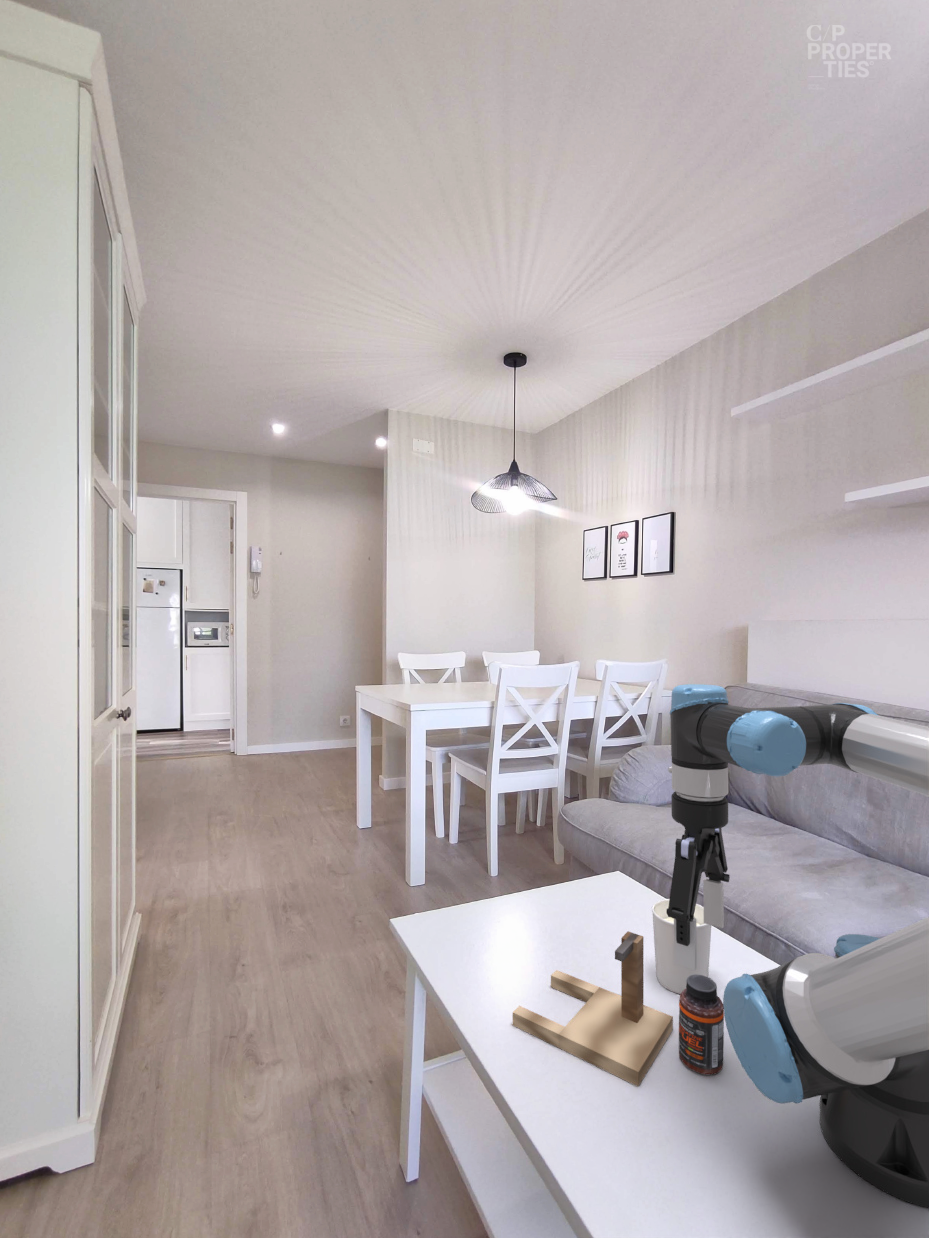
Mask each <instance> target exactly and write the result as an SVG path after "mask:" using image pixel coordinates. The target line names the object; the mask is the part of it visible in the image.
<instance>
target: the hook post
mask: <svg viewBox="0 0 929 1238" xmlns="http://www.w3.org/2000/svg"><path fill="white" fill-rule="evenodd" d="M620 940H621V941H620V942H621V944H620V945H619V946H617V948H616V949H615V950H614V959H615V961H619V962H620V963H621V967H620V968H621V976H620V980H621V982H620V983H621V989H620V990H621V991H620V994H621V995H620V996H621V1017H624V1018H626V1019H628V1020H631V1021H633V1022H635V1023H638V1022H639V1020H640V1019H641V1017H642V1016H643V1005H644V936H643V935H640V934H637V933H635V932H631V931H626V932H625V933H624V935H623V936H622V937H621V939H620Z"/></svg>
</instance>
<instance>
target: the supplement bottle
mask: <svg viewBox="0 0 929 1238" xmlns="http://www.w3.org/2000/svg"><path fill="white" fill-rule="evenodd" d="M717 987H718V986H717V983H716V982H715V981H714V980H713V979H712V978H710V977H709V976H708V977H706V976H703V975H691V976H689V977H688V978H687V984H686V989H684V990H683V991H682V992H681V994H679V1002H678V1055H679V1058H680V1061H681V1062H682V1063H683V1064H684V1065H685V1066H686V1067H687V1068H688V1069H689V1070H691V1071H693V1072H695V1073H698V1074H701V1075H706V1076H708V1075H709V1076H711V1075H715V1074H718V1073H719V1072H721V1070H722V1069H723V1067H724V1044H725V1043H724V1038H725V1036H724V1035H725V1034H724V1033H725V1031H724V1030H725V1028H724V1027H725V1017H724V1007H723V1001H722V999H721V998H720V996H719V995H718V993H717Z"/></svg>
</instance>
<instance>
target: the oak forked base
mask: <svg viewBox="0 0 929 1238" xmlns="http://www.w3.org/2000/svg"><path fill="white" fill-rule="evenodd" d="M550 988H552V989H554V990H557V991H559V992H561V993H564V994H566V995H568V996H571V997H573V998H576V999H577V1000H581V1001H583V1002H585V1003H584V1005H582V1007H580V1009H579V1010H578V1011H577V1012H576V1014H575V1015H574V1016H573V1017H572V1018H571V1019H570V1021H568V1023H567V1024H566V1025H563V1024H560V1023H559V1022H556V1021H554V1020H551V1019H550V1018H547V1017H545V1016H543V1015H541V1014H538V1013H537V1012H534V1011H533V1010H530V1009H528V1008H525V1007H523V1006H522V1005H518V1007H516V1009H514V1010H513V1012H512V1026H513V1027H515V1028H517V1029H519V1030H521V1031H524V1032H526V1033H528V1034H530V1035H532V1036H534V1037H535V1038H537V1039H540V1040H542V1041H544V1042H546V1043H548V1044H550V1045H552V1046H554V1047H556V1048H558V1049H559V1050H563V1051H564V1052H566V1053H568V1054H571V1055H573V1056H575V1057H576V1058H579V1059H581V1060H582V1061H585V1062H587V1063H589V1064H590V1065H593V1066H595V1067H597V1068H599V1069H601V1070H603V1071H605V1072H607V1073H609V1074H611V1075H613V1076H615V1077H618V1078H620V1079H622V1080H624V1081H626V1082H628V1083H630V1084H631V1085H633V1086H636V1087H640V1085H641V1083H642V1082H643V1080H644V1078H645V1077H646V1075H647V1073H648V1071H650V1068H651V1067H652V1066H653V1063H654V1062H655V1060H656V1059H657V1057H658V1055H659V1054H660V1052H661V1050H662V1048H663V1047H664V1046H665V1044H666V1041H668V1038H669V1037H670V1035H671V1034H672V1032H673V1030H674V1016H673V1015H670V1014H667V1013H666V1012H662V1011H660V1010H658V1009H655V1008H654V1007H653V1008H652V1007H650V1006H647V1005H645V1004H643V1016H642V1017H641V1019H640V1020H639V1022H638V1023H635V1022H633V1021H631V1020H628V1019H626V1018H624V1017H621V995H620V994H617V993H615V992H613V991H610V990H607V989H605V988H603V987H600V986H598V985H595V984H592V983H590V982H588V981H585V980H582V979H580V978H578V977H576V976H572V975H570V974H568V973H565V972H563V971H561V970H558V969H555V971H554V972H552V974H551V975H550Z"/></svg>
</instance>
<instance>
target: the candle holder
mask: <svg viewBox="0 0 929 1238" xmlns="http://www.w3.org/2000/svg"><path fill="white" fill-rule="evenodd" d="M669 899H670V898H666V899H661V900H658V901H656V902H654V903H653V904H652V906H651V913H652V922H653V923H652V924H653V927H652V928H653V940H654V941H653V943H654V958H655V973H656V979H657V981H658V983H659V984H660V985H661V986H662V987H663V988H665V989H666V990H668V991H670V992H673V993H674V994H678V995H680V994H681V992H682V991H683V990H684V989H686V984H687V978H688V977H689V976H691V975H703V976H706V977H709V973H710V972H709V970H710V968H709V967H710V958H711V957H710V953H711V952H710V951H711V941H712V940H711V938H712V925H709V924H705V923H704V905H703V906H702V905H701V904H699V903H696V907H695V912H694V918H696V935H697V968H696V970H692V969H689V968H686V967H683V966H680V965H677V964H674V918H671V917H668V915H667V909H668V907H669Z"/></svg>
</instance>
